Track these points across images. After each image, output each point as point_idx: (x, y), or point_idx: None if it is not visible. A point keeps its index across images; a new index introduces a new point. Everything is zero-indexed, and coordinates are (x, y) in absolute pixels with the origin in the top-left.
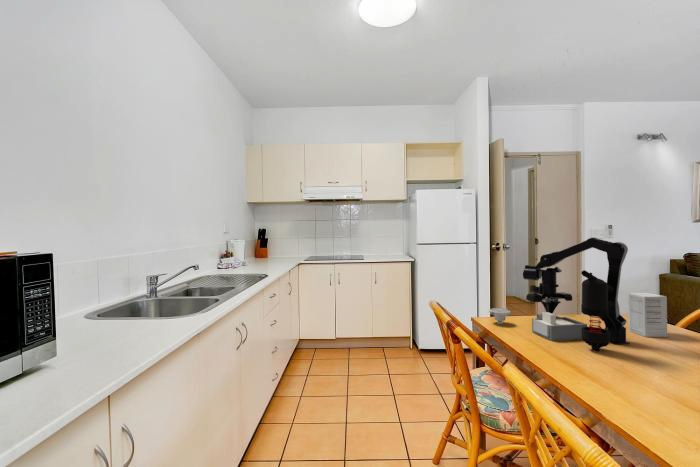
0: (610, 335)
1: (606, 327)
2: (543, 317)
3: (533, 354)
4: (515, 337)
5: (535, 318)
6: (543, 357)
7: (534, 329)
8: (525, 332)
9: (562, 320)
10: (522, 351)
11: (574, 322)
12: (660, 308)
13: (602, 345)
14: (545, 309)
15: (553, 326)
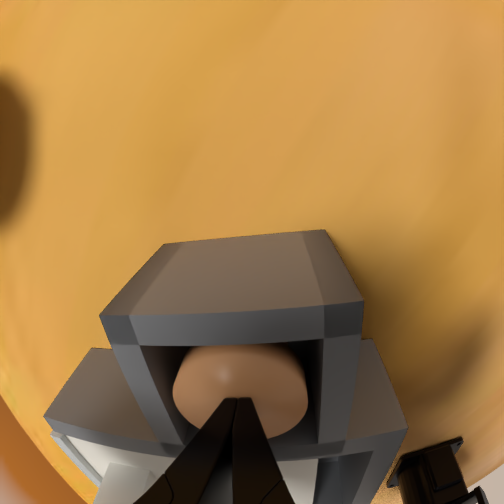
0: (401, 495)
1: (428, 500)
2: (106, 492)
3: (74, 478)
4: (21, 385)
5: (65, 424)
6: (94, 491)
7: None
8: (56, 341)
9: (287, 482)
10: (51, 461)
11: (353, 487)
12: None
13: None
14: (174, 469)
15: None
